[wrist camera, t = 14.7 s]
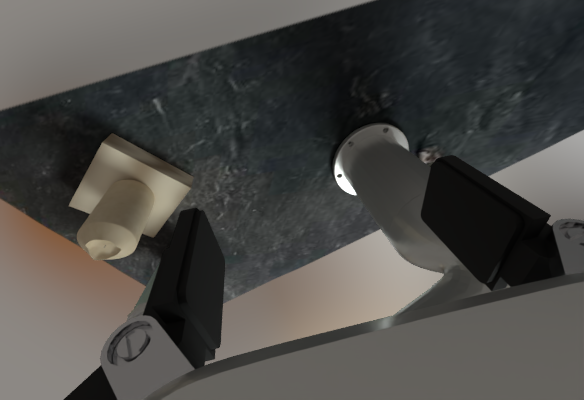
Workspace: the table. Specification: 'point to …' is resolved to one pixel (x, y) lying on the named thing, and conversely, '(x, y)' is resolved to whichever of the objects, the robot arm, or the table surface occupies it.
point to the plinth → (134, 166)
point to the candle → (117, 221)
